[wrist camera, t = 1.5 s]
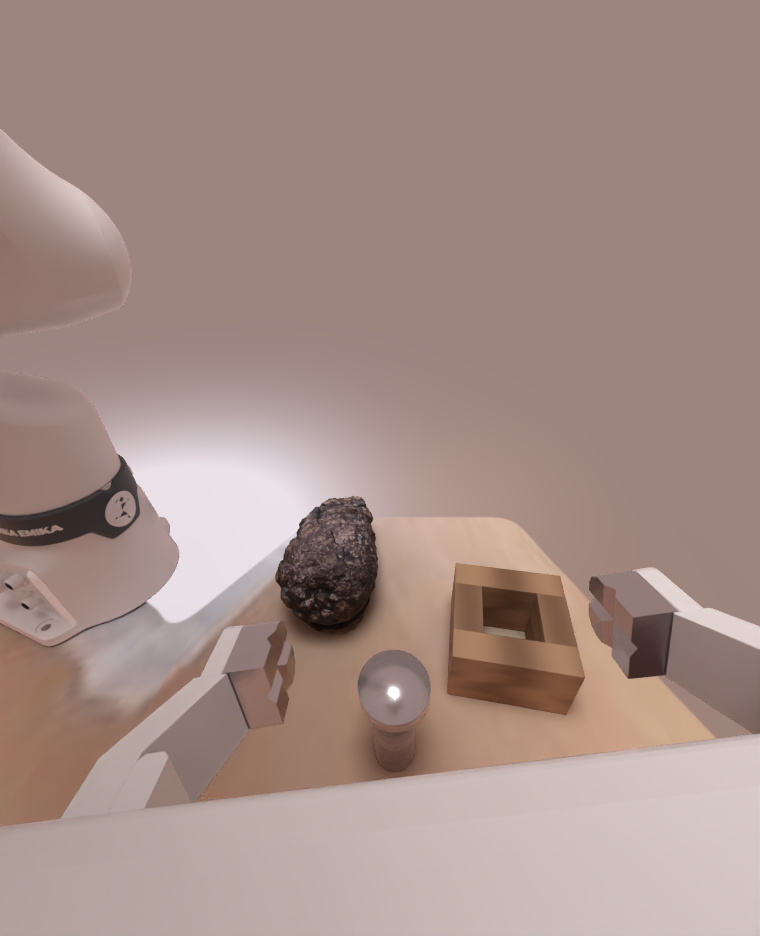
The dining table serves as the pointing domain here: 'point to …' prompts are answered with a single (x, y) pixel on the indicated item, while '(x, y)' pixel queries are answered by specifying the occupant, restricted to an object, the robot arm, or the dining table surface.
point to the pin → (394, 704)
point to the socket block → (512, 639)
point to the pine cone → (331, 566)
